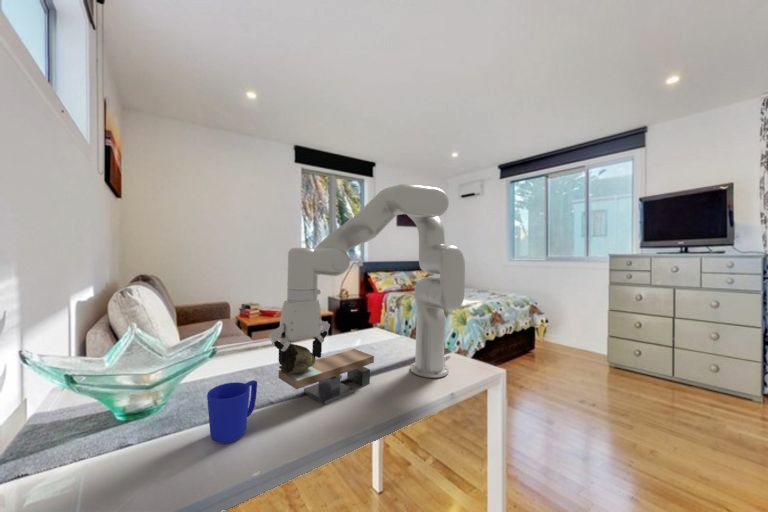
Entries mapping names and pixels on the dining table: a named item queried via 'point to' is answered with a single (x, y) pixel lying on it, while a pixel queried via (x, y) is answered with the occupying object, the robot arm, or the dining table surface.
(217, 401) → the mug
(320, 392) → the pivot stand
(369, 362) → the beam
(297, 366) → the olive green rounded piece
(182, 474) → the dining table surface
